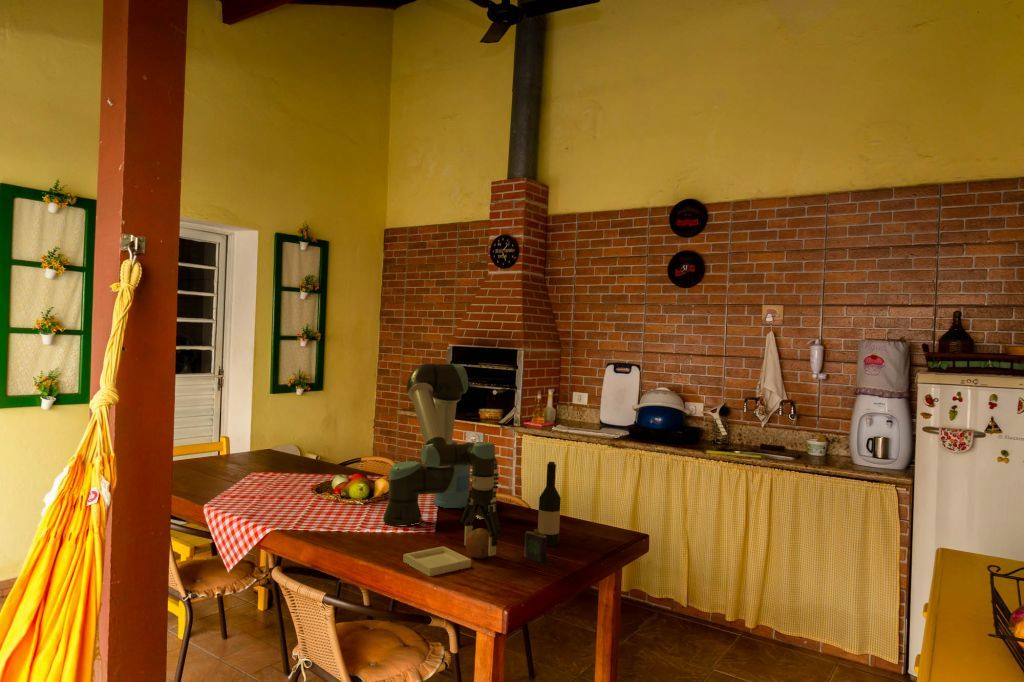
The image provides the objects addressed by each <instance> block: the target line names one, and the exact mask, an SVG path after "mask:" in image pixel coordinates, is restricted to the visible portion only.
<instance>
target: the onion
mask: <svg viewBox="0 0 1024 682" xmlns="http://www.w3.org/2000/svg"><path fill="white" fill-rule="evenodd" d="M489 536H490V532H489V530H488V529H486V528H483V527H482V528H480V527H479V528H476V529H472V532H470V533H469V535H468V536H467V539H466V545H465V549H466V551H467V553H468V554H469V556H471V557H473V558H474V559H478V560H479V559H486V558H487V557H489V556H488V548H489Z"/></svg>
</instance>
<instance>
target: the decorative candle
mask: <svg viewBox="0 0 1024 682" xmlns="http://www.w3.org/2000/svg"><path fill="white" fill-rule="evenodd" d="M498 463H499V461H498V460H497V458H496V457H495V463H494V487H493V488H492V489H493V499H492V500H491V502H490V503H491V506H494V505H496V506H497V507H498V504H497V503H498V500H497V491H498V488H499V486H498V485H499V482H498V480H500V478H499V477H498V476H500V474H499V472H498V471H499V470H498V469H499V468H498ZM487 515H488V514H487ZM476 517H477V518H476V519H478V518H479V519H478V520H481V519H483V517H482V516H480V515H477V516H476Z"/></svg>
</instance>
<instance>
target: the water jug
mask: <svg viewBox="0 0 1024 682" xmlns="http://www.w3.org/2000/svg"><path fill="white" fill-rule="evenodd" d="M452 444H459V441H457V440H456V441H455V440H452ZM471 468H472V466H471V465H464V466H456V469H457V481H456V484H455V487H454V489H453V490H452V491H451V492H448V493H443V494H434V498H433V504H434V505H435V504H436V505H438V506H440V507H443V508H442V509H446V508H459V509H464V508H465V507H466V505H467V499H468V498H470V486H471V478H470V477H471ZM436 505H435V506H436ZM440 507H439V508H440ZM463 507H464V508H463Z"/></svg>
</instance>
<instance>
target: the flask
mask: <svg viewBox="0 0 1024 682" xmlns="http://www.w3.org/2000/svg"><path fill="white" fill-rule="evenodd" d="M538 530H539V529H538V528H534V529H533V531H530V530H529V531H528V530H526V531H525V533H524V551H523V557H524V558H525V559H526V558H527V560H530V559H532V560H536V561H538V562H537V563H539V562H541V563H540V564H543V563H545V562H546V563H547V537H546V536H544V534H543V535H542V534H540V532H539V531H538ZM532 560H531V561H532ZM546 563H545V564H546Z"/></svg>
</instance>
